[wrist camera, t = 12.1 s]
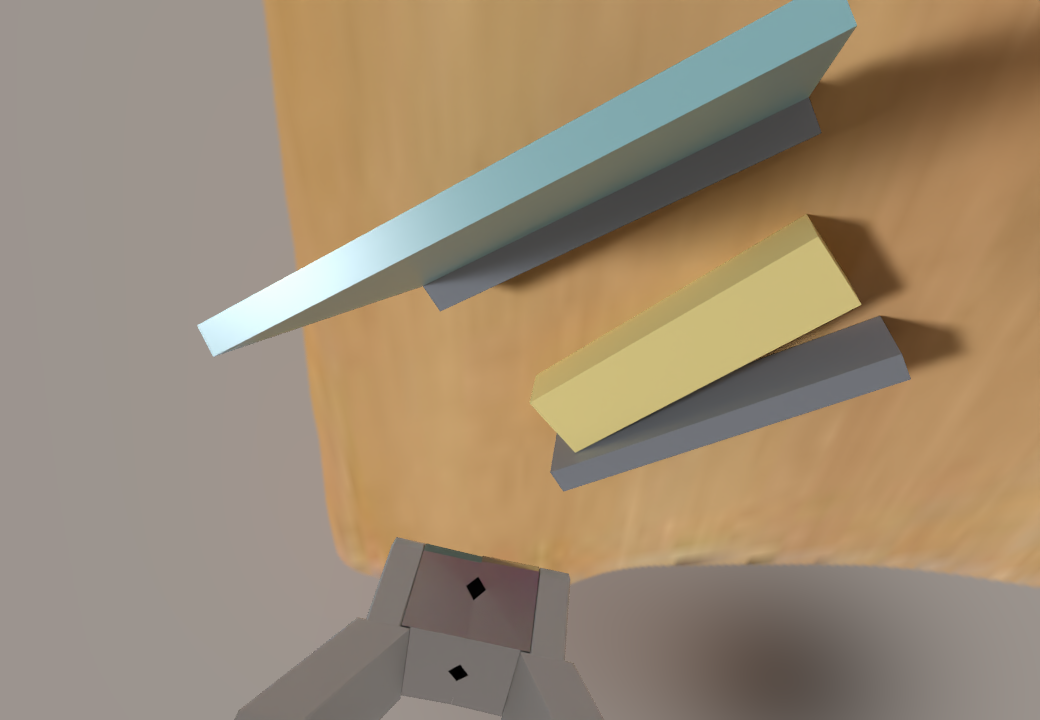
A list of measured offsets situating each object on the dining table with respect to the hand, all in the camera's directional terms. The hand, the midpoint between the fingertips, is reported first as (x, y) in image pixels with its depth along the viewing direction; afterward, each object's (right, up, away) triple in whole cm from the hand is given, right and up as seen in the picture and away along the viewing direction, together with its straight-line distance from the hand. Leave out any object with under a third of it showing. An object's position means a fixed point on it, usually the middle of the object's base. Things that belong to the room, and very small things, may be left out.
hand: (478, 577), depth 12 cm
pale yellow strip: (+9, +5, +25) cm, 27 cm away
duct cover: (+2, +9, +12) cm, 15 cm away
